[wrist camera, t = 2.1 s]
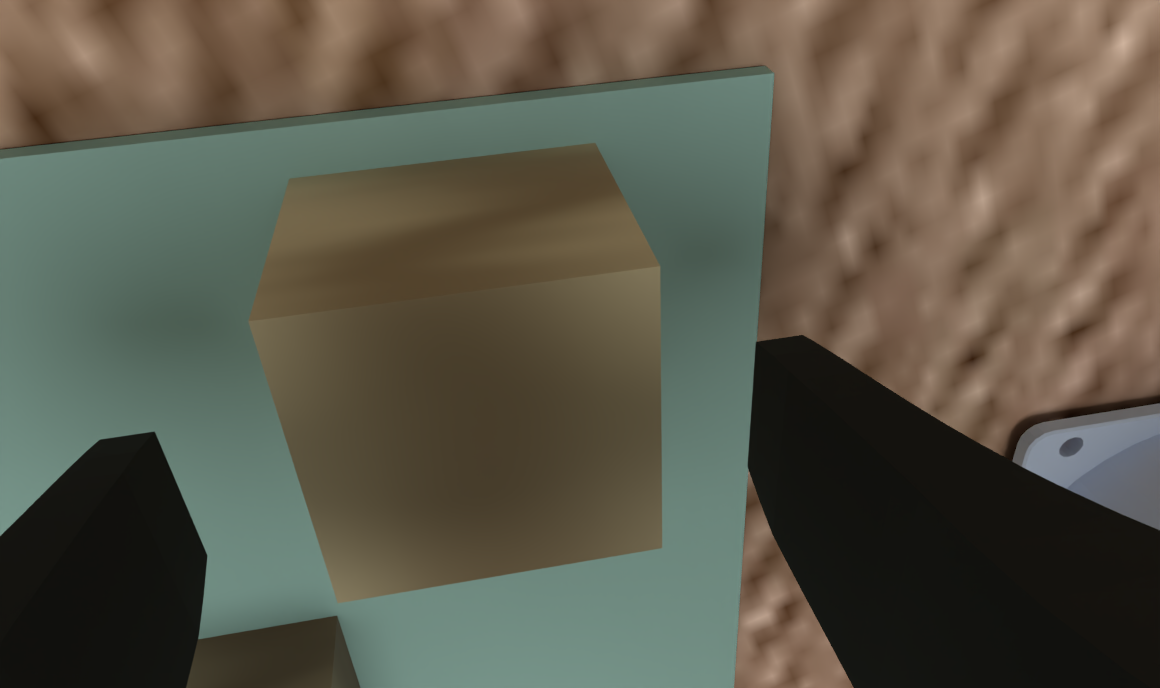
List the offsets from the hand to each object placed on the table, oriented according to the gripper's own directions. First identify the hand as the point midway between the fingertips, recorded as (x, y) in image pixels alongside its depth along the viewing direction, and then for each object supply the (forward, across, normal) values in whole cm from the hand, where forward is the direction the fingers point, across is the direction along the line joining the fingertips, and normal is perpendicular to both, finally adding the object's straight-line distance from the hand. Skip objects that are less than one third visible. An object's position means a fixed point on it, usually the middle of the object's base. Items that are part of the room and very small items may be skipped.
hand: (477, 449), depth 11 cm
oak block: (+4, 0, 0) cm, 4 cm away
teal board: (+4, +3, +5) cm, 7 cm away
